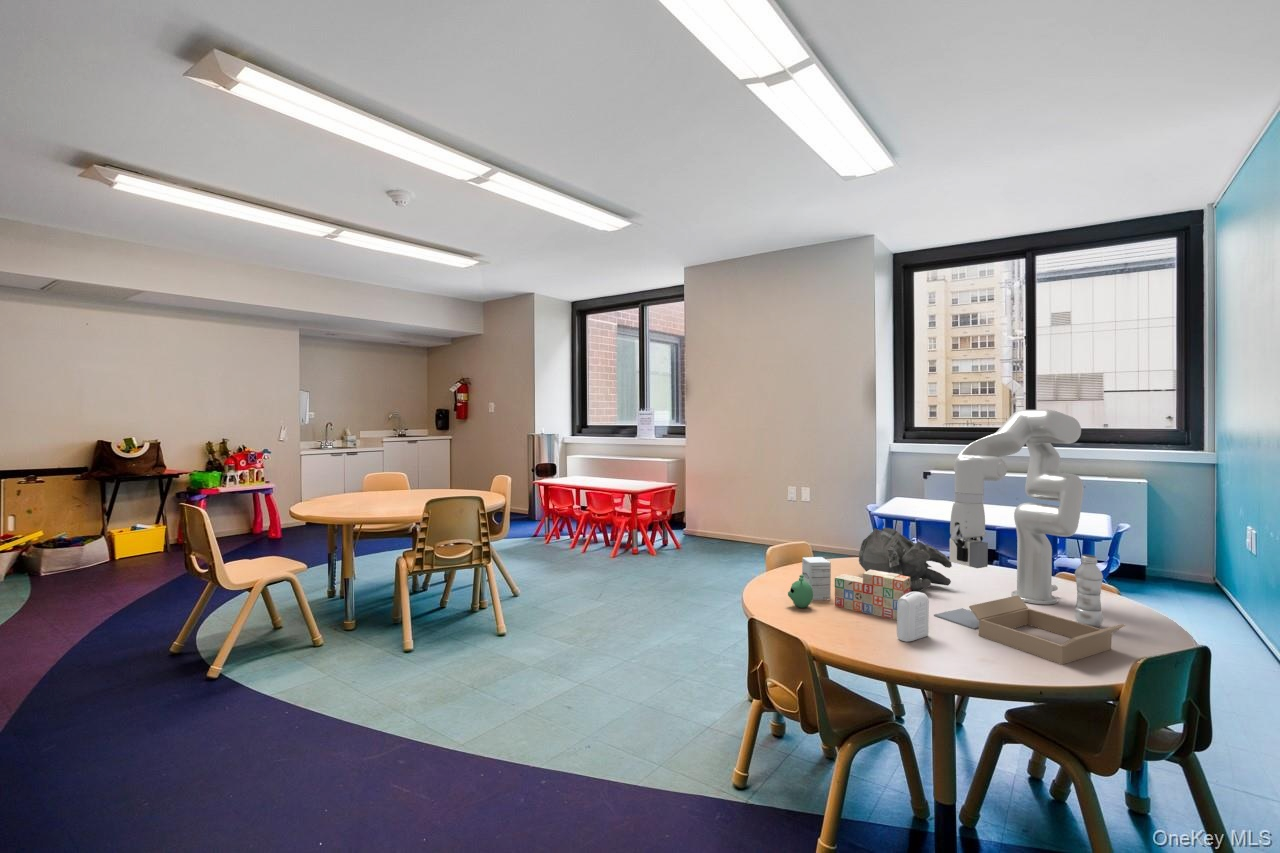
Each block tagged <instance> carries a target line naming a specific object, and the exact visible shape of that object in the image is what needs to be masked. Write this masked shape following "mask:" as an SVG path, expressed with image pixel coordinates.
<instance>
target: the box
mask: <svg viewBox="0 0 1280 853" xmlns="http://www.w3.org/2000/svg"><path fill="white" fill-rule="evenodd" d="M961 541H962V542H963V539H961ZM955 545H956V544H955V543H954V541H953V540H952V539H951V537H949V558H948V559H949V562H951V563H954V564H957V565H960V566H961V565H962V566H967V567H970V568H975V569H982V568H988V563H989V562H988V556H989V555H988V553H989V552H988V551H989V549H988V548H989V544H988V542H986V541H982V542H981V541H976V540H971V539H969V538H968V541H967V547H966V548H967V549H968V562H963V561H959V560H957V547H956V546H955Z"/></svg>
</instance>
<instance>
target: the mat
mask: <svg viewBox="0 0 1280 853" xmlns="http://www.w3.org/2000/svg"><path fill="white" fill-rule="evenodd" d="M933 616H934V617H937V618H939V619H942V620H945V621H948V622H951V623H953V624H958V625H960V626H963V627H966V628H968V629H972V630H976V629H978V630H979V620H978V619H977V618H976V616H975V615H974V614H973V612H972V611H971V609H970V610H969V609H966V608H957V609H953V610H948V611H944V612H939V613H935V614H933Z"/></svg>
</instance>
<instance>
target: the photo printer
mask: <svg viewBox="0 0 1280 853" xmlns="http://www.w3.org/2000/svg"><path fill="white" fill-rule="evenodd" d="M929 602H930V599H929V597H928V595H927V594H926V593H925V592H921V591H910V593H907V594H905V595H903V596H902V597H901V598H900V599H899V600H898V603H897V620H896V637H897V639H898V640H900V641H903V642H906V643H907V642H914V641H916V640H919V639H922V638H925V637H927V636H928V635H929V632H930V631H929V628H930V626H929V625H930V624H929V623H930V622H929V619H930V618H929V617H930V615H929V614H930V612H929V611H930V610H929V608H930V603H929Z"/></svg>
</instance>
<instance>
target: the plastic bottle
mask: <svg viewBox="0 0 1280 853" xmlns="http://www.w3.org/2000/svg"><path fill="white" fill-rule="evenodd" d="M1080 562H1081V564H1080V565H1079V566H1078V567H1077V568H1076V569H1075V571H1074V577H1075V584H1076V591H1077V592H1076V595H1077V596H1076V605H1075V608H1074V619H1075V622H1078V623H1082V624H1085V625H1089V626H1092V627H1096V628H1098V627H1100V626H1102V624H1103V622H1104V615H1103V611H1102V603H1101V594H1102V592H1101V591H1102V585H1103V579H1104V574H1103V572H1102V571H1101V570H1100V568H1099V567H1098V556H1096V555H1093V554H1092V555H1091V554H1081V556H1080Z"/></svg>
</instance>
